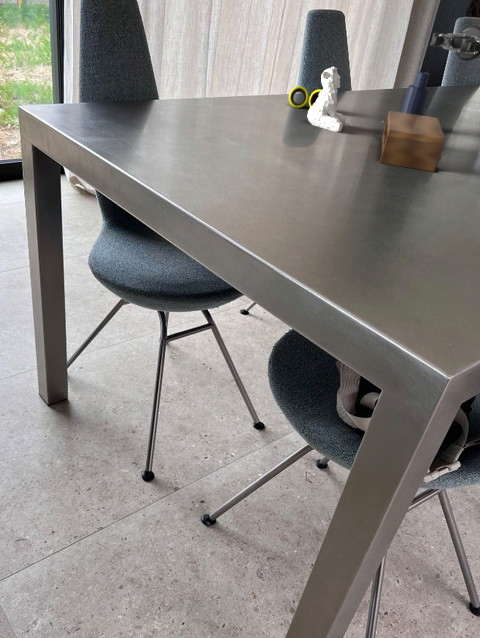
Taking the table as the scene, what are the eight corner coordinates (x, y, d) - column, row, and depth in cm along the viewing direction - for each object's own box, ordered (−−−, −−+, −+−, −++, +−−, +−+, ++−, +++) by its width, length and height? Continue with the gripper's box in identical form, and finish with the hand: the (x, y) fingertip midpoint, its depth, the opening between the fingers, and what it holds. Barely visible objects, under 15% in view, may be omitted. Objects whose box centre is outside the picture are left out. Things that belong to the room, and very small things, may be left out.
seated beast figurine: (340, 133, 125) (354, 72, 118) (302, 126, 126) (313, 66, 119) (344, 125, 132) (358, 67, 125) (308, 119, 134) (319, 62, 127)
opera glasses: (326, 113, 145) (331, 92, 143) (324, 112, 141) (329, 90, 139) (290, 107, 148) (294, 86, 146) (286, 106, 143) (291, 84, 141)
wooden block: (428, 147, 122) (437, 118, 118) (433, 172, 106) (445, 138, 102) (381, 140, 123) (389, 110, 120) (379, 162, 107) (389, 129, 104)
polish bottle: (417, 127, 138) (433, 73, 131) (418, 131, 134) (435, 75, 127) (396, 124, 139) (412, 70, 132) (397, 128, 135) (413, 72, 128)
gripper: (498, 64, 142) (474, 67, 132) (444, 55, 149) (418, 56, 139) (510, 30, 138) (487, 30, 127) (454, 21, 145) (428, 21, 135)
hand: (451, 44), depth 133 cm, fingers open, 8 cm apart
